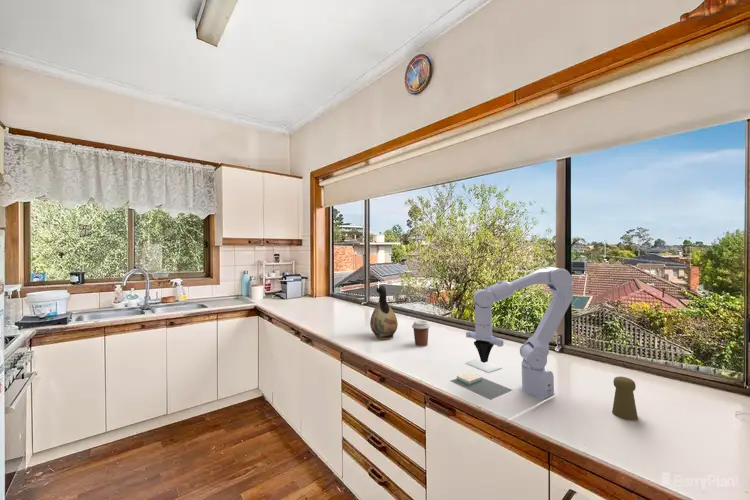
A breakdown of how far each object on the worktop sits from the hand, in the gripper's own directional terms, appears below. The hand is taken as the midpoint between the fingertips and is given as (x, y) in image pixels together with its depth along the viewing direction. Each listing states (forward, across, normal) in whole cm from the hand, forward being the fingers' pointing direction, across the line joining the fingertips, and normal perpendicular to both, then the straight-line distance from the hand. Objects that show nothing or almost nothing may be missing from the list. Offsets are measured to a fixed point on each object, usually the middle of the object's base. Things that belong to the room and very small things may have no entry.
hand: (484, 361), depth 113 cm
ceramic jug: (+10, -73, +7) cm, 74 cm away
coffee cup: (+10, -51, +15) cm, 54 cm away
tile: (+8, -4, 0) cm, 9 cm away
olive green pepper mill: (+10, +35, +19) cm, 41 cm away
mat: (+10, -2, 0) cm, 10 cm away
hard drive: (+11, -13, +16) cm, 23 cm away
